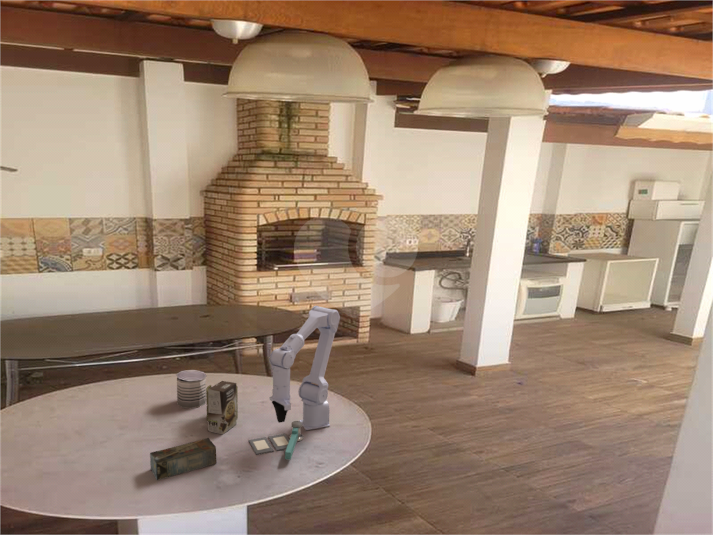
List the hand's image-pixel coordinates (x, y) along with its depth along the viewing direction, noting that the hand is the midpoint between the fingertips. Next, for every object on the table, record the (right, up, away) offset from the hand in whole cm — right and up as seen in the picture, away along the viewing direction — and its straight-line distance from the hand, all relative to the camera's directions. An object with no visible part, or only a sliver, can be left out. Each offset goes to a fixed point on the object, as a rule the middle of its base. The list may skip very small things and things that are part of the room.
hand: (281, 421), depth 191 cm
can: (-40, -1, +31) cm, 50 cm away
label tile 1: (-7, -8, -1) cm, 11 cm away
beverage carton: (-29, -10, -15) cm, 34 cm away
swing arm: (+4, -7, -3) cm, 9 cm away
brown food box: (-25, -4, +18) cm, 31 cm away
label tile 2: (0, -8, +1) cm, 8 cm away
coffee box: (-23, -5, +11) cm, 26 cm away
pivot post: (+5, -7, +5) cm, 10 cm away
